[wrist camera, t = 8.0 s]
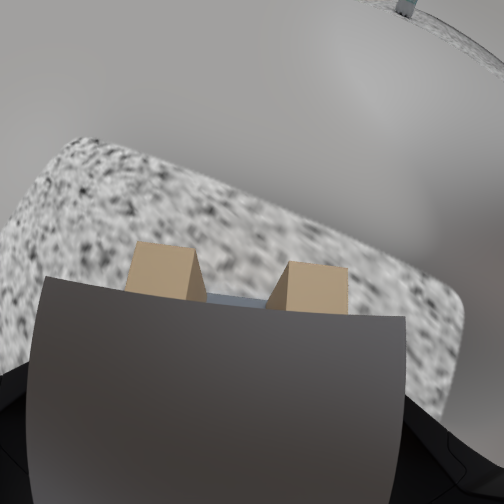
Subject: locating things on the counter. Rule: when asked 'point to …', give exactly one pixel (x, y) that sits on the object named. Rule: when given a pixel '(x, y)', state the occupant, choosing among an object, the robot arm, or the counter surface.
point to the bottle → (406, 7)
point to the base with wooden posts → (192, 288)
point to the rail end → (209, 402)
